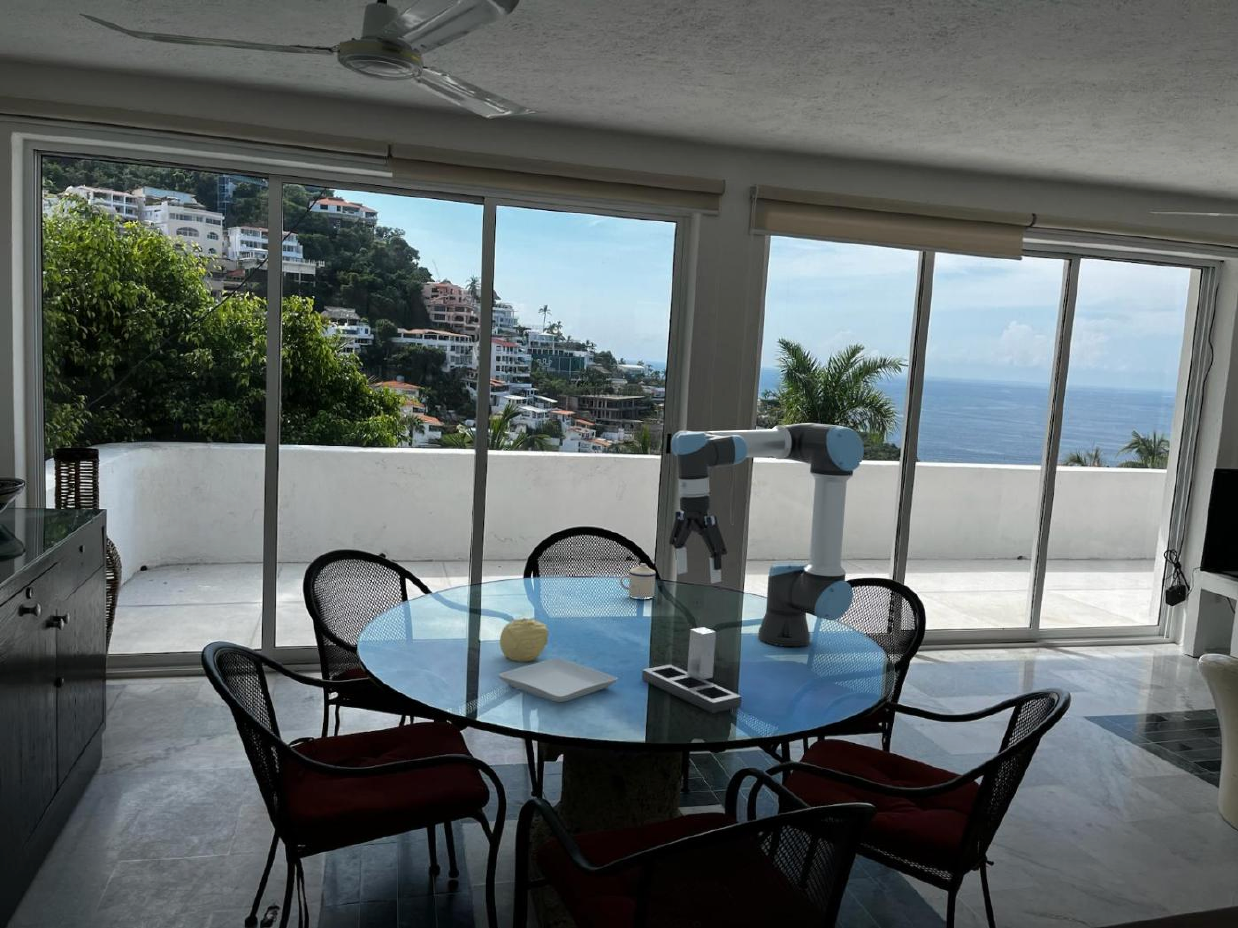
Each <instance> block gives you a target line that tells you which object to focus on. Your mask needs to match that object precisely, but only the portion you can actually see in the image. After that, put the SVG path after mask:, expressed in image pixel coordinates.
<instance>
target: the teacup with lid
mask: <svg viewBox="0 0 1238 928" xmlns="http://www.w3.org/2000/svg"><path fill="white" fill-rule="evenodd" d="M628 573H629V574H624V575H622V576H621V577H620V579H619V583H620V586H621V588H623V590H626V591H628V595H630V596H632V597H640V598H645V597H646V598H647V597H653V596H654V597H655V585H656V575H657V573H656V571H655V570H654V569H652V568H650V567H648V566H647V564H646V563H643V562H641V563H640V564H639V565H638V566H636V567H634V568H631V569H629V571H628ZM624 578H629V579H628V580H629V581H628V587H627V586H625V585H624V584H623V579H624Z"/></svg>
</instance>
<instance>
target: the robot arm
mask: <svg viewBox="0 0 1238 928" xmlns="http://www.w3.org/2000/svg"><path fill="white" fill-rule="evenodd" d="M670 449H671V451H672V453H673V455H674V456H675V457H676V459H677V460H676V461H677V462H676V463H677V473H678V474H677V475H678V491H679V494H680V496H679V506H680V507H679V509H680V510H677V511H675V513H674V514H675V515H674V523H673V527H672V530H671V534H670V538H669V541H668V543H669V545H672V546H673V547H674V549H675V550H674V551H675V552H674V553H675V560H676V571H677V573H676V574H677V575H681V574H686V573H688V557H687V547H686V542H687V541H688V539H689V537H690V535H691V533H692V532H695V533H697V534H698V535H699V536H701V538H702V540H703V542H704V544H705V545H706V547H707V549H708V552H709V553H710V556H709V570H710V571H709V572H710V573H709V574H710V583H711V584H715V583H719V582H720V583H721V582H722V556H724V555H727V554H728V550H727V547H726V545H725V541H724V538H723V537H722V533H721V531H720V527H719V525H718V517H717V516H716V515H712V516H711V515H710V516H709V515H708V511H709V510H710V508H711V501H710V499H711V498H710V497H711V496H710V494H709V492H710V491H711V490H710V476H709V474H710V473H709V469H714V468H719V467H726V466H734V465H737V464H741V463H742V462H744V461H745V460H746V458H758V457H759V458H761V457H763V458H765V457H773V458H774V459H776V460H789V461H794V462H799V463H803V464H808V465H810V466H809V467H810V468H809V469H810V470H809V472H810V474H811V476H812V477H813V478H814V491H813V494H814V495H813V504H812V519H811V520H812V522H811V535H810V536H811V537H810V550H809V561H808V563H805V562H794V561H793V562H776V563H773V564H771V566H770V567H769V571H768V577H767V579H768V580H767V595H766V610H765V614H764V615H763V616H764V617H763V619H762V621H761V623H760V627H759V628H758V635H757V637H758V639H759V640H760V641H761V642H763V643H765V642H768V643H771V644H770V645H772V644H777V645H782V646H781V647H783V646H795V647H794V648H799V647H798V646H802V647H806V646H808V645H810V643H811V633H810V630H809V625H808V621H807V614H809V615H810V616H814V617H816V618H818V619H822V620H826V621H827V620H828V621H836V620H839V619H841V618H842V617H843V616H844V615H845V614H846V612H847V613H848V611H849V609H850V607H851V604H852V603H853V598H854V591H853V588H852V586H851V584H850V583H849V582H847V581H846V570H845V569H844V568H843V567H842V565H841V562H842V549H843V536H844V535H843V533H844V523H845V510H846V509H845V507H846V497H847V495H846V493H847V482H848V480H850V479H851V478H852V477H853V475H854V470H856V469H857V468H859V467H860V465H861V464H860V463H862V461H863V458H864V449H865V448H864V444H863V440H862V438H861V436H860V435H859V434H858V432H857V431H855V430H854V429H852V428H849V427H846V426H843V425H836V424H835V425H833V424H825V423H824V424H823V423H822V424H821V423H815V422H806V423H805V422H804V423H795V424H786V425H785V424H784V425H775V426H774V427H773V428H771V429H749V430H747V429H743V430H741V429H739V430H738V429H737V430H716V431H715V430H711V431H710V430H709V431H691V430H679V431H677V432H676V433H675V434H674V435H673V436H672V438H671V441H670ZM768 643H767V644H768ZM807 644H808V645H807ZM777 645H776V646H777ZM805 645H806V646H805ZM796 646H797V647H796Z"/></svg>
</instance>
